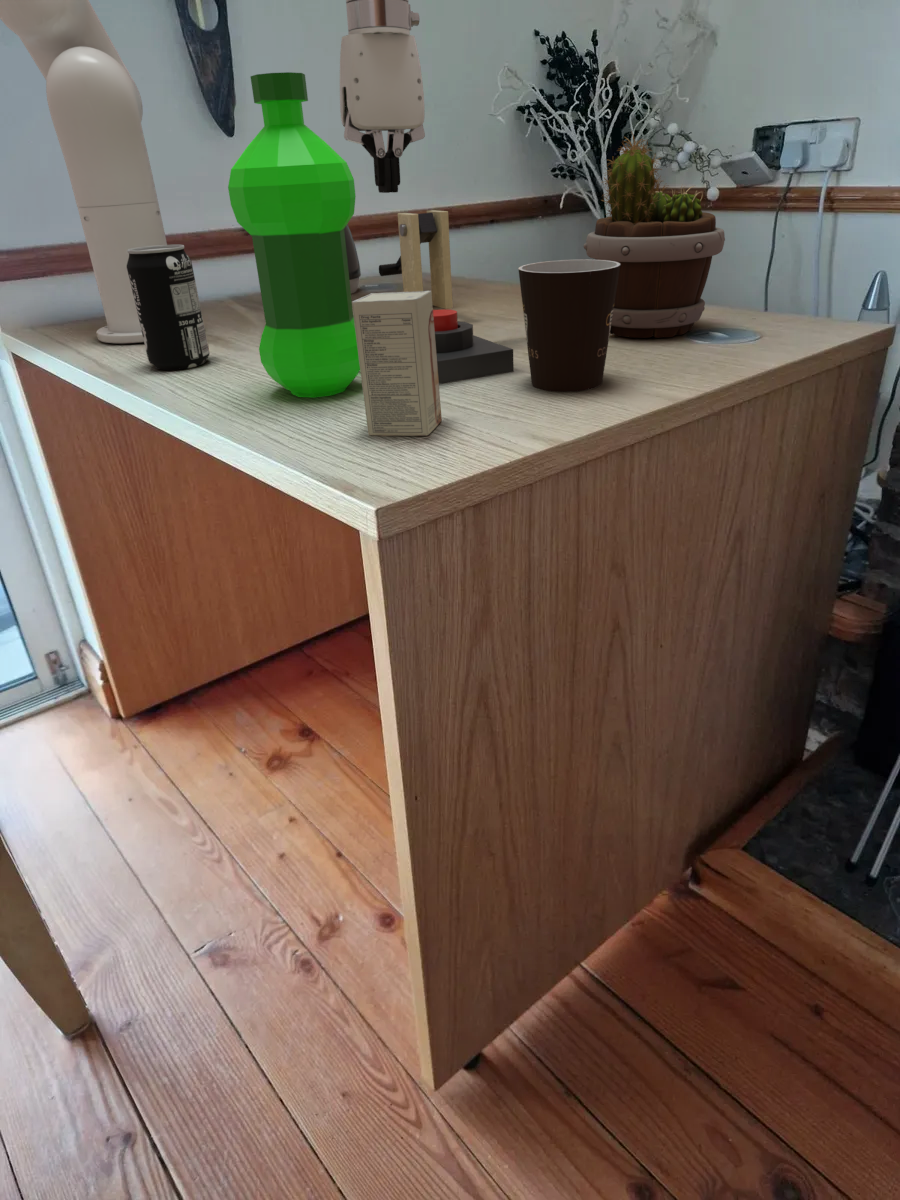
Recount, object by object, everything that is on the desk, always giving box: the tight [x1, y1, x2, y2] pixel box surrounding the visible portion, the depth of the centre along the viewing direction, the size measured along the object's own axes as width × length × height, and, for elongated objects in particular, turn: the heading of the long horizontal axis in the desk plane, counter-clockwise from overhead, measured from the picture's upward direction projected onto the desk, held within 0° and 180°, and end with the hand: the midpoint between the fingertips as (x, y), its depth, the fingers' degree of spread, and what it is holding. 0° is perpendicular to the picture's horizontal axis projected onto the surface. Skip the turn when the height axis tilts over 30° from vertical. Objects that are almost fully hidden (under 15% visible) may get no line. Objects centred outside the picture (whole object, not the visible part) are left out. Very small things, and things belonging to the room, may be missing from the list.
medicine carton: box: [352, 290, 443, 437], centre depth 61 cm, size 5×4×10 cm
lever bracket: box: [397, 209, 454, 310], centre depth 102 cm, size 10×8×13 cm
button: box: [433, 308, 459, 331], centre depth 78 cm, size 4×4×2 cm
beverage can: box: [127, 244, 210, 371], centre depth 86 cm, size 7×7×12 cm
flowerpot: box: [583, 130, 726, 339], centre depth 87 cm, size 14×15×20 cm
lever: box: [378, 212, 437, 277], centre depth 104 cm, size 13×6×2 cm, turn 25°
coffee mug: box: [517, 259, 620, 393], centre depth 71 cm, size 12×9×10 cm
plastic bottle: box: [227, 71, 360, 399], centre depth 69 cm, size 10×10×25 cm
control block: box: [435, 320, 515, 385], centre depth 80 cm, size 12×10×4 cm
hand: (388, 192), depth 105 cm, fingers closed
